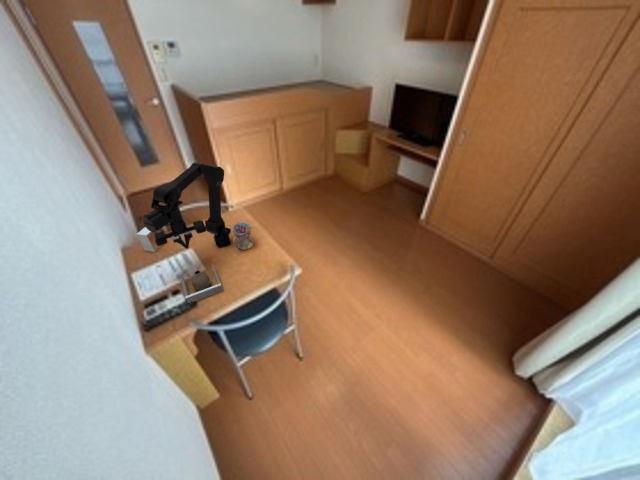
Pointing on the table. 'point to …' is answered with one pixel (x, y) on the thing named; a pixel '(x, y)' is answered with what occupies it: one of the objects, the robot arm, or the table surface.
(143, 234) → the small box
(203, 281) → the vase
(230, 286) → the table surface
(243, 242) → the mug
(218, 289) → the bay
